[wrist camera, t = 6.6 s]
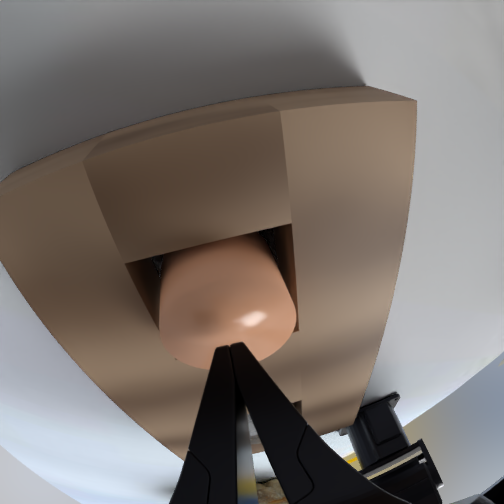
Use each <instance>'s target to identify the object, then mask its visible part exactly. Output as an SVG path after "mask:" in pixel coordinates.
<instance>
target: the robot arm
mask: <svg viewBox="0 0 504 504" xmlns="http://www.w3.org/2000/svg"><path fill="white" fill-rule="evenodd" d="M399 399H400V395H399V394H395V395H393V396H391V397H388V398H386V399H384V400H381V401H379V402H377V403H374V404H372V405H369V406H367V407H364V408H361V409H359V410H358V413H357V415H356V418H355V421H354V423H353V425H350V426H348V427H345V428H342V429H340V430H339V435H340V436H343V435H346V434H348V436H349V438H350V441H351V443H352V446H353V448H354V451H355V453H356V456H357V459H358V461H359V463H360V466H361V469H362V470H360V471H357V470H356V469H354V468H353V467H352V466H351V465H350V464H348V463H347V462H346V461H345V460H344V459H342V458H341V457H340V456H339V455H338V454H337V453H336V452H335V451H334V450H333V449H331V448H330V447H329V446H328V445H327V444H326V443H325V442H324V440H323V439H322V438H321V437H320V436H319V435H318V434H317V433H316V432H315V430H314V429H313V428H312V427H311V426H310V425H309V424H308V422H307V421H306V420H305V419H304V418H303V416H302V415H301V414H300V413H299V412H298V410H297V409H296V408H295V407H294V405H293V404H292V403H291V402H290V401H289V399H288V398H287V397H286V396H285V394H284V393H283V392H282V391H281V389H280V388H279V387H278V386H277V384H276V383H275V382H274V381H273V379H272V378H271V377H270V376H269V374H268V373H267V372H266V370H265V369H264V368H263V367H262V365H261V364H260V363H259V361H258V360H257V359H256V358H255V356H254V355H253V354H252V352H251V351H250V350H249V348H248V347H247V346H246V344H245V343H244V342H242V341H241V342H236V343H232V344H231V345H230V346H229V345H223V346H219V347H216V349H215V351H214V355H213V358H212V362H211V365H210V369H209V373H208V376H207V380H206V384H205V387H204V391H203V395H202V398H201V402H200V406H199V409H198V413H197V417H196V420H195V424H194V428H193V431H192V435H191V439H190V443H189V446H188V451H187V453H186V457H185V461H184V464H183V467H182V471H181V474H180V477H179V480H178V482H177V485H176V488H175V490H174V493H173V495H172V498H171V500H170V502H169V504H259V503H258V496H257V488H256V480H255V473H254V465H253V457H252V449H251V441H250V433H249V424H248V416H247V410H248V412H249V415H250V417H251V420H252V422H253V425H254V427H255V429H256V432H257V434H258V436H259V439H260V441H261V443H262V446H263V448H264V450H265V453H266V455H267V457H268V460H269V462H270V464H271V466H272V469H273V471H274V473H275V475H276V477H277V480H278V482H279V484H280V486H281V488H282V490H283V493H284V495H285V497H286V499H287V501H288V503H289V504H442V499H441V497H440V495H439V492H438V490H437V489H439V488H441V487H443V486H444V485H443V482H442V480H441V478H440V475H439V473H438V471H437V469H436V467H435V465H434V463H433V461H432V459H431V456H430V454H429V452H428V450H427V448H426V446H425V444H424V442H423V440H422V439H420V440H418V441H417V442H416V443H414V444H412V445H411V444H410V443H409V440H408V438H407V436H406V434H405V432H404V430H403V428H402V426H401V423H400V421H399V419H398V417H397V415H396V413H395V411H394V407H395V406H396V404H397V402H398V400H399ZM246 407H247V409H246ZM420 450H422V452H423V453H421V454H420V455H418V456H416V457H414V458H412V459H411V460H409V461H407V462H405V463H403V464H401V465H399V466H397V467H395V468H393V469H391V470H389V471H387V472H385V473H383V474H381V475H379V476H377V477H374V478H372V479H370V480H368V479H367V478H366V477H369V476H371V475H373V474H375V473H377V472H380V471H382V470H384V469H386V468H388V467H390V466H392V465H394V464H396V463H398V462H400V461H401V460H404V459H405V458H407V457H409V456H411V455H413V454H415V453H416V452H418V451H420ZM425 461H426V462H425ZM423 462H425V463H423ZM451 504H504V476H503V477H502V478H500V479H499V480H498V481H497V482H495V483H494V484H493V485H492V486H490V487H489V488H488V489H486V490H485V491H484V492H482V493H481V494H478V495H473V496H471V497H468V498H466V499H463V500H460V501H457V502H454V503H451Z"/></svg>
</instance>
